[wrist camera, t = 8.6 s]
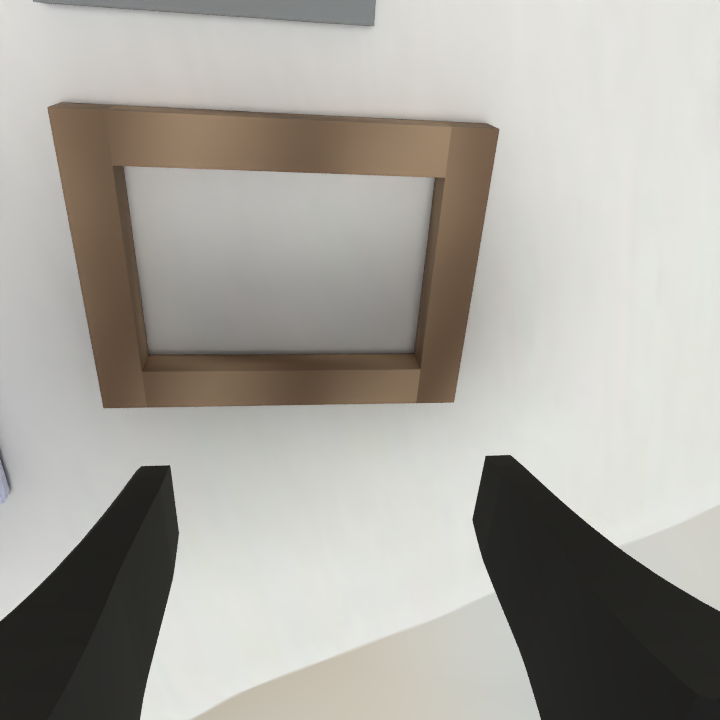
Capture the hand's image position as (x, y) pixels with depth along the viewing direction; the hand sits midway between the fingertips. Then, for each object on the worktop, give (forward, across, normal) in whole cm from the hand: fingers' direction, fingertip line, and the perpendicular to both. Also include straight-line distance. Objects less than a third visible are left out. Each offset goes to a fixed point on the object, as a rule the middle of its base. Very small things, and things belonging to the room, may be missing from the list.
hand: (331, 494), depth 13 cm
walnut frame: (+9, +1, -2) cm, 10 cm away
